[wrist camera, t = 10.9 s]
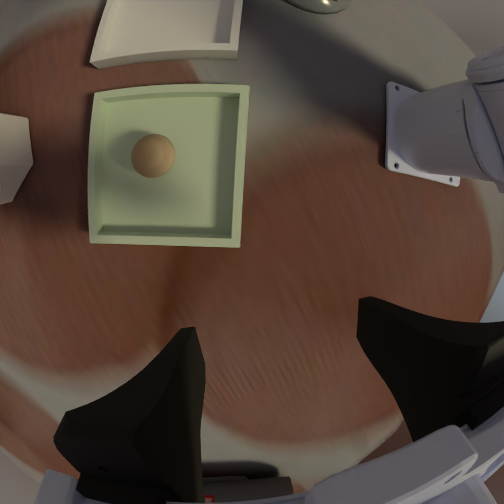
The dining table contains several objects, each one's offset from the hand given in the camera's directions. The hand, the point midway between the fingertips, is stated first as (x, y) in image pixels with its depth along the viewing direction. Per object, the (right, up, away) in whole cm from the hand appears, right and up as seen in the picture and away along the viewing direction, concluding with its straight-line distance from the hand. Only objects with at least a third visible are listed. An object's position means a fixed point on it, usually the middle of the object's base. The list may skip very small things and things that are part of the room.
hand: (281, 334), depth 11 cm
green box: (-7, +10, +7) cm, 14 cm away
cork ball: (-8, +10, +7) cm, 15 cm away
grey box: (-8, +23, +3) cm, 25 cm away
